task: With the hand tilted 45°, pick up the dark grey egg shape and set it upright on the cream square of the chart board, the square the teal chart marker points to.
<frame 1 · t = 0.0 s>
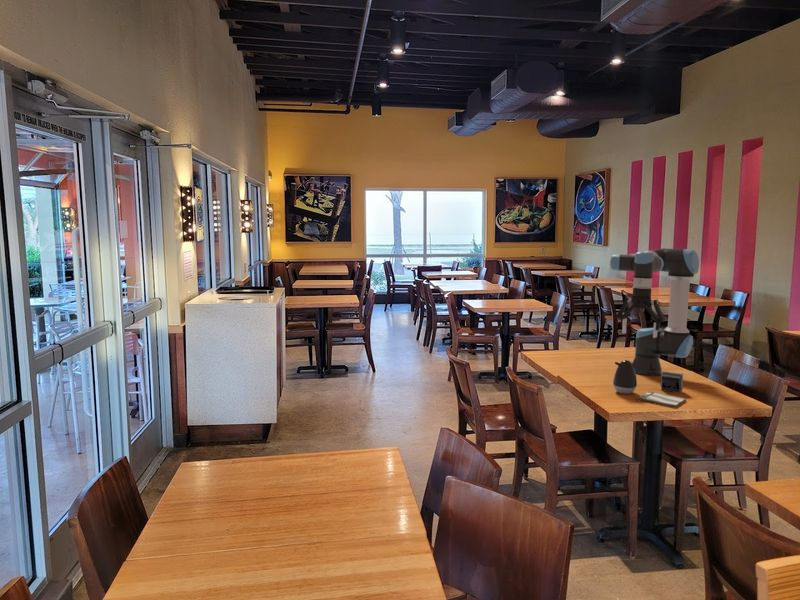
hand: (639, 335, 267), 28 cm above the table, tool pointing down, fingers open, 13 cm apart
electrical switch: (671, 391, 280), on the table
dark grey egg shape: (624, 392, 277), on the table
chart board: (661, 400, 265), on the table
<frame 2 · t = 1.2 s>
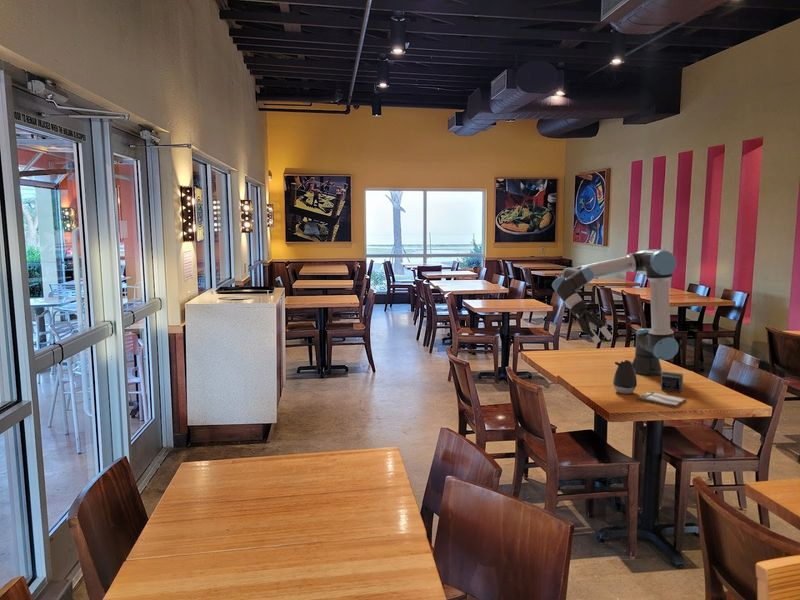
hand: (604, 340, 281), 23 cm above the table, tool tilted 45°, fingers open, 13 cm apart
nothing on the table moved.
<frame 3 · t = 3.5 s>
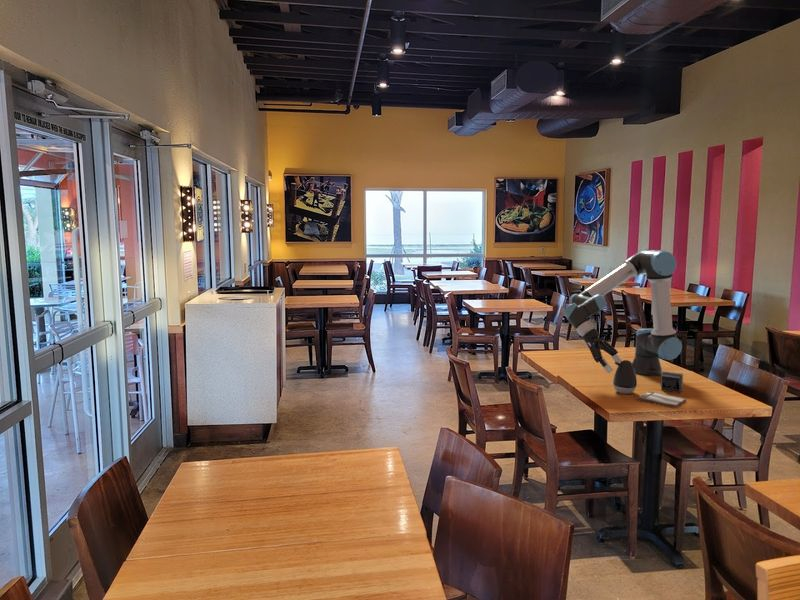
hand: (617, 369, 277), 10 cm above the table, tool tilted 45°, fingers open, 13 cm apart
nothing on the table moved.
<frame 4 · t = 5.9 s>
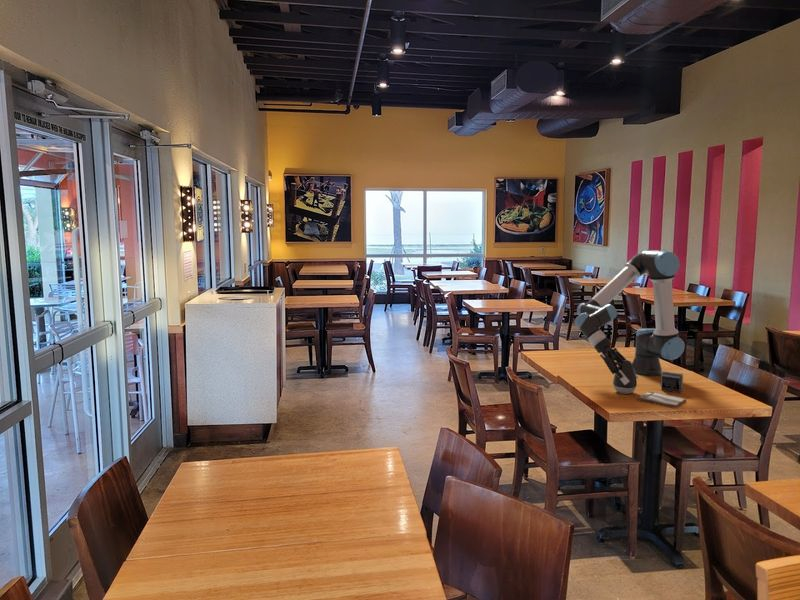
hand: (631, 381, 274), 6 cm above the table, tool tilted 45°, fingers closed on dark grey egg shape, 9 cm apart
dark grey egg shape: (623, 392, 277), on the table, touching gripper
everything else where it was.
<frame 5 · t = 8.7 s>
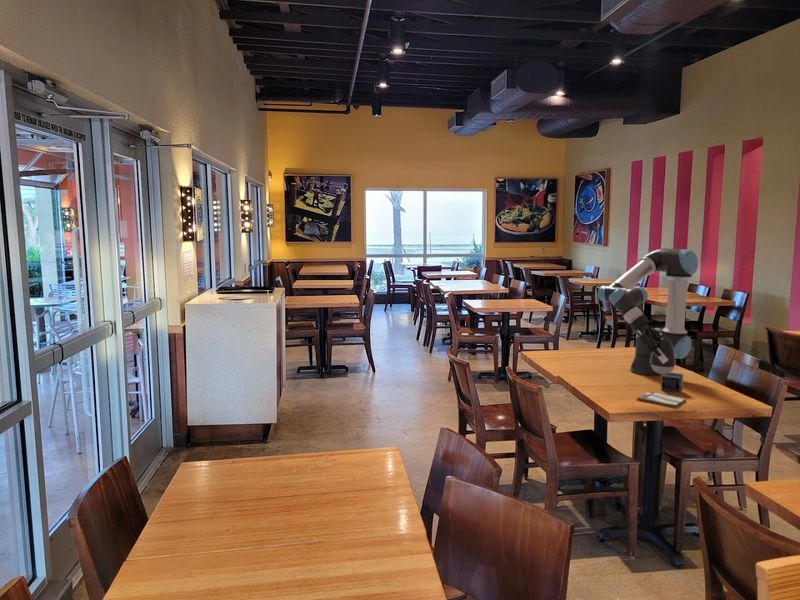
hand: (670, 360, 260), 19 cm above the table, tool tilted 45°, fingers closed on dark grey egg shape, 9 cm apart
dark grey egg shape: (661, 372, 263), point 13 cm above the table, touching gripper
everything else where it was.
when the fingers open (8 cm above the table, at t = 11.8 s): dark grey egg shape drops 1 cm, resting on chart board.
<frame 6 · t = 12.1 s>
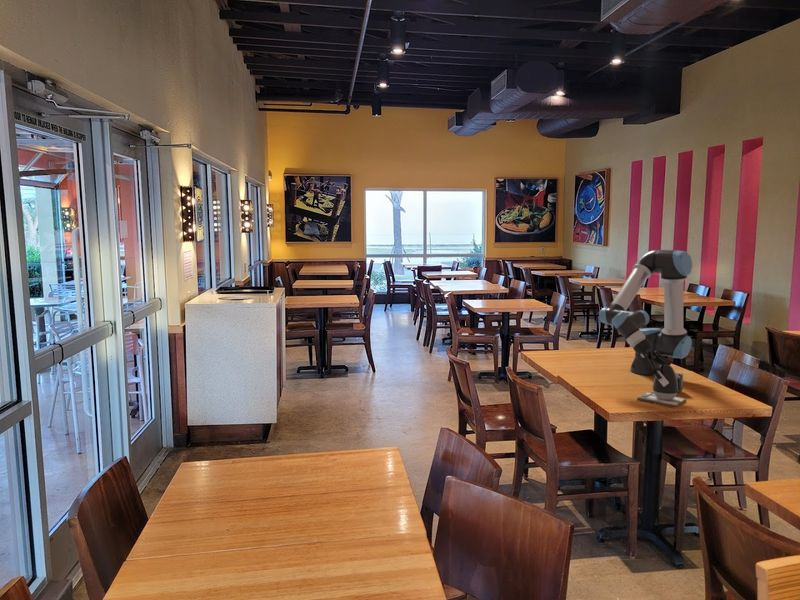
hand: (672, 382, 261), 9 cm above the table, tool tilted 45°, fingers open, 13 cm apart
dark grey egg shape: (664, 398, 264), point 1 cm above the table, touching chart board
everything else where it was.
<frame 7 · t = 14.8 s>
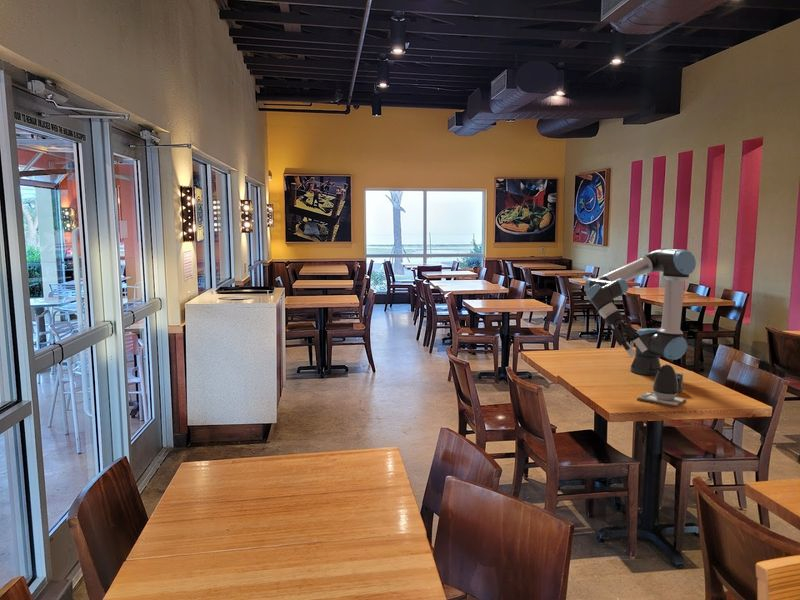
hand: (639, 353, 271), 19 cm above the table, tool tilted 40°, fingers open, 13 cm apart
nothing on the table moved.
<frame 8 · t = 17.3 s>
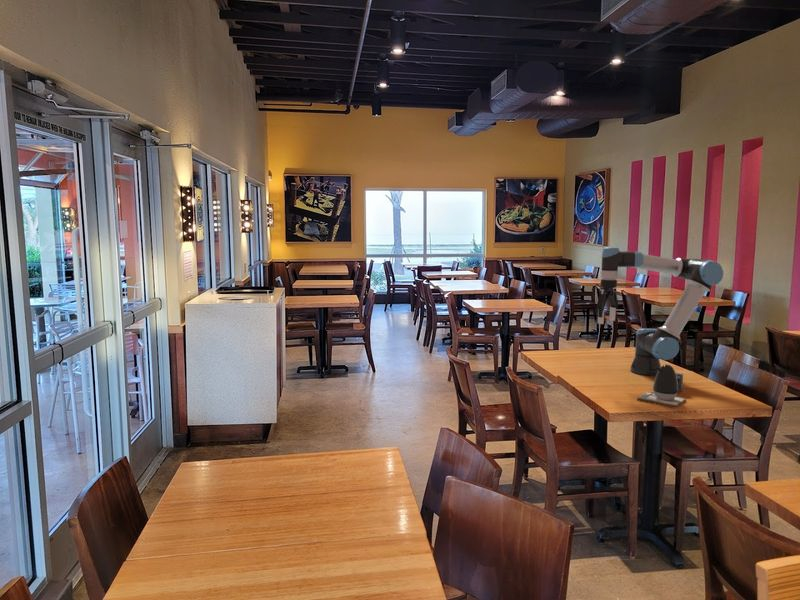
hand: (606, 322, 296), 29 cm above the table, tool pointing down, fingers open, 13 cm apart
nothing on the table moved.
at the end: dark grey egg shape inside the target area on the chart board (0.3 cm from its centre), point 1.0 cm above the chart board's base; dark grey egg shape tilted 0°; the gripper is holding nothing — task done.
